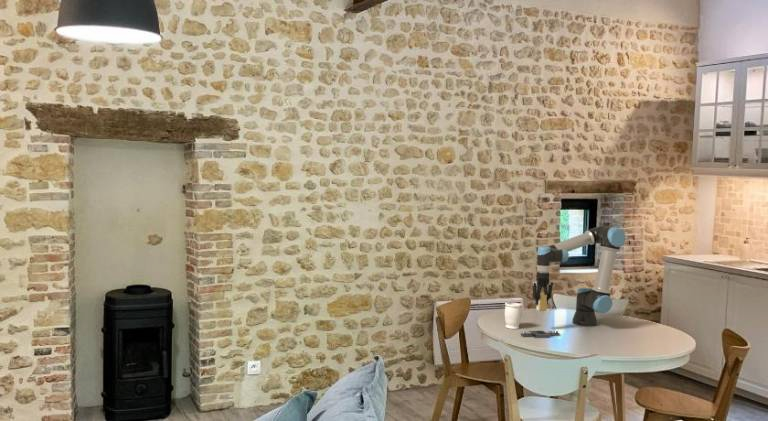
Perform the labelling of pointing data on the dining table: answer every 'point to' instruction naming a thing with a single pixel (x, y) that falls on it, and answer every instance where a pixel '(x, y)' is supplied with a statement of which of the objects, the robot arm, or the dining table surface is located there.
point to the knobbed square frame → (540, 334)
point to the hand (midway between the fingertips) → (541, 309)
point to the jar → (513, 315)
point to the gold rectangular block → (543, 302)
